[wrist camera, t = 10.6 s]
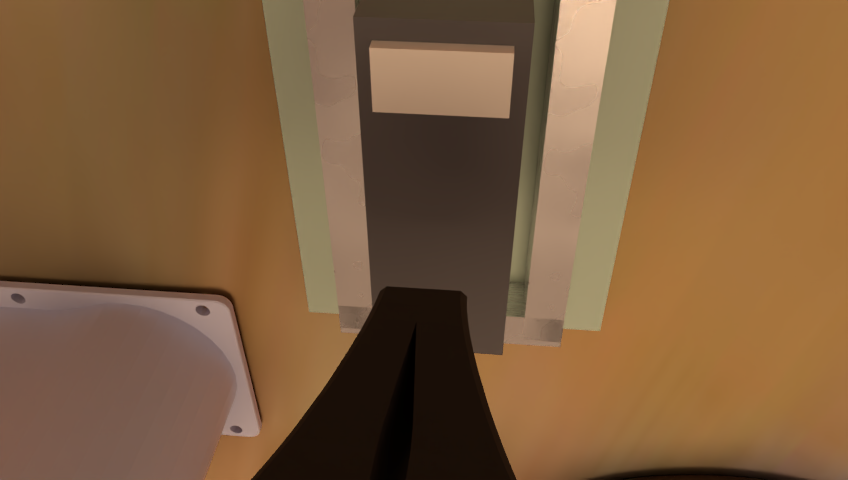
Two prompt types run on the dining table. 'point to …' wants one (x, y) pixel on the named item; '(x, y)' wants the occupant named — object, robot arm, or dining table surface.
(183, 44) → the dining table surface
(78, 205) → the dining table surface
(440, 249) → the brown block
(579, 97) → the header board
